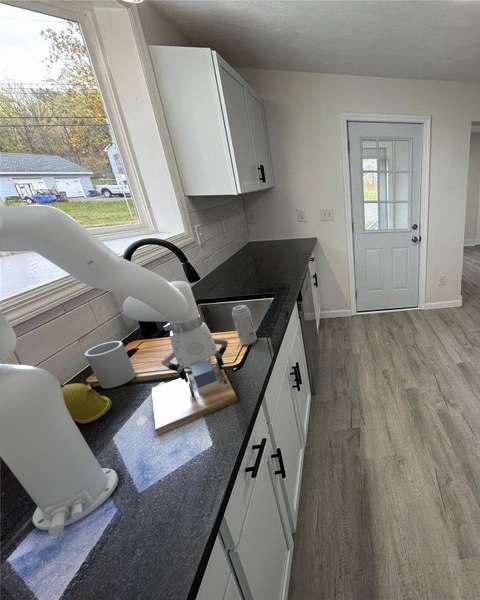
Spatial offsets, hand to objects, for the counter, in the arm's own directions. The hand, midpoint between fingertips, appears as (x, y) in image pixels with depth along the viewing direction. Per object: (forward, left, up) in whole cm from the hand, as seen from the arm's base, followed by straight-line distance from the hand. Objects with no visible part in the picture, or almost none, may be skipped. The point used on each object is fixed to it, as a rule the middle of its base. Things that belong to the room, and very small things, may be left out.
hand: (204, 374), depth 96 cm
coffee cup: (+19, 0, -5) cm, 19 cm away
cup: (+26, +22, -5) cm, 34 cm away
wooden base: (-3, +4, -4) cm, 7 cm away
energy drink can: (+21, -18, -5) cm, 27 cm away
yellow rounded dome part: (+6, +27, -5) cm, 28 cm away
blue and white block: (0, 0, -2) cm, 2 cm away
